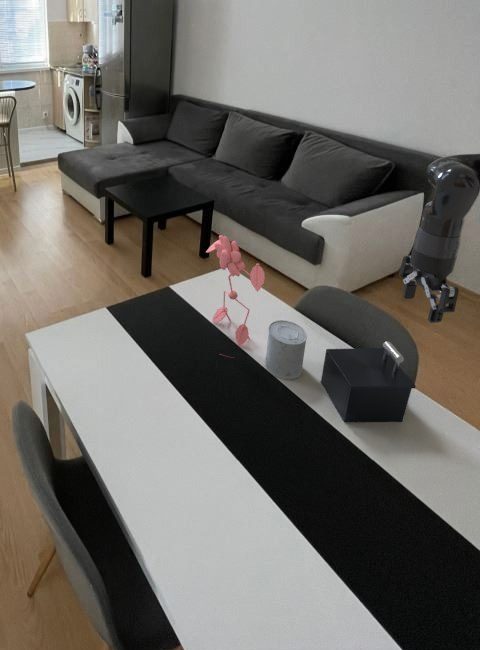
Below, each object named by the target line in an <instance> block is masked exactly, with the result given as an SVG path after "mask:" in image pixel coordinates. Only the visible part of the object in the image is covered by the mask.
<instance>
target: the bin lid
mask: <svg viewBox="0 0 480 650" xmlns="http://www.w3.org/2000/svg"><path fill="white" fill-rule="evenodd" d="M326 352H327V354H328V355H329V357H330V358H331V360H332V361H333V363H334V364H335V366H336V367H337V369H338V370H339V372H340V373H341V375H342V376H343V378H344V379H345V381H346V383H347V384H348V386H349V387H350V389H411V390H412V389H413V390H414V389H416V386H417V385H416V384H415V383H414V382H413V381H412V379H410V377H409V376H408V375H407V374H406V373H405V371H404V370H403V369H402V367H400V364H401V363H403V362H404V361H405V358H404V356H403V355H402V354H401V352H400V351H398V350H397V348H396V347H395V345H393V344H392V342H390V341H385V342H383V343H382V347H363V348H362V347H361V348H359V347H358V348H356V347H355V348H353V347H352V348H326V349H325V353H326Z"/></svg>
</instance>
